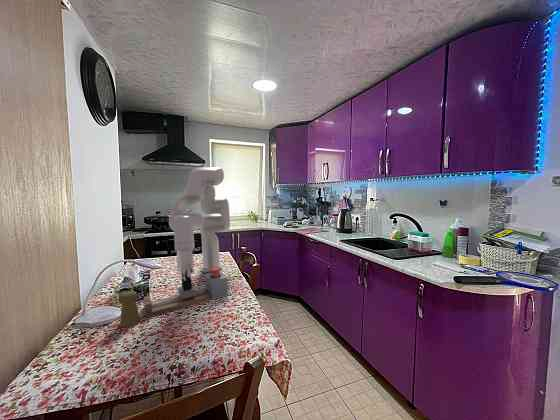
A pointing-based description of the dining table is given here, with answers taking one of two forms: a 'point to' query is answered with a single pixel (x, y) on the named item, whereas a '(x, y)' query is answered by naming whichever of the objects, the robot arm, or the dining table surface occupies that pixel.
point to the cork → (129, 309)
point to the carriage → (187, 292)
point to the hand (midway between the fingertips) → (187, 287)
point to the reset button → (215, 272)
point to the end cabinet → (216, 285)
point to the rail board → (173, 303)
